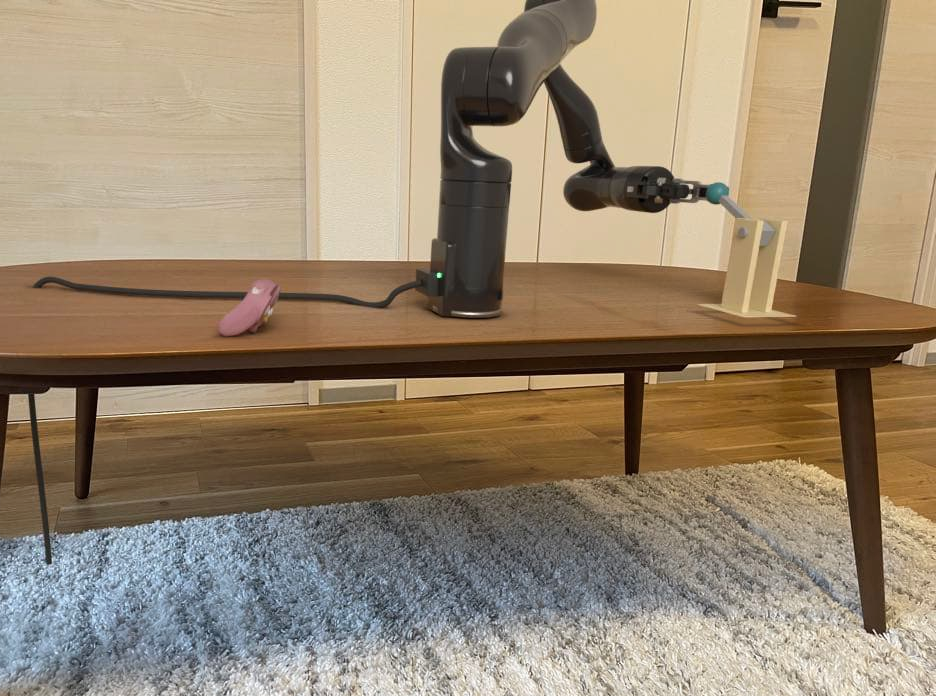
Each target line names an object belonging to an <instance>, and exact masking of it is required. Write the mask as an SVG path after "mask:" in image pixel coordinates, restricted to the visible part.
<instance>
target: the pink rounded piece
mask: <svg viewBox="0 0 936 696" xmlns="http://www.w3.org/2000/svg"><path fill="white" fill-rule="evenodd" d="M281 291H282V288H281V286H279V284H278V283H276V282H274V281H272V280H271V279H265V278H262V279H257V280H255V281H252V282H251V284H250V285H249V287H248V290H247V292H248V293H247V295H246V296H245V298H242V300H241V301H240V302H239V303H238V304H237V305H236V306H235V307H234V308H232V309H231V310H229V311H228V312H227V313H225V314H224V316H222V318H221V319H220V321H219V322H218V326H217V331H218V332H219V334H220V335H221V336H223V337H233V336H238V335H239V334H243V333H244V332H246V331H247V330H248V331H249V332H251V333H253V334H255V333H256V332H257V330H258V328H261V327H262V325H263V324H266V323H267V322H268V320H269V317H271V316H272V315H273V312H274V308H273V307H275V305H276V303H277V301H278V300H279V299H278V296H279V293H281Z"/></svg>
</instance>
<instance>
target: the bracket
mask: <svg viewBox="0 0 936 696" xmlns="http://www.w3.org/2000/svg"><path fill="white" fill-rule="evenodd" d="M763 220H764V221H765V222H766V223H767V224H769V225H770V226H771V227H772V228H773V229H774V230H775V233H774V234H773V236H772V238H771V240H770V241H769V243H768V245H767V246H759V245H760V239H761V234H762V228H763V223H764V221H763ZM788 223H789V222H788V220H780V219H770V218H759V219H753V218H752V219H744V218H735V221H734V227H733V232H732V238H731V243H730V244H731V245H730V250H729V257H728V263H727V269H726V274H725V279H724V286H723V292H722V297H721V298H722V299H721V303H697V304H696V305H697V306H702V307H705V308H708V309H712V310H716V311H719V312H723V313H726V314H730V315H734V316H737V317H741V318H775V317H776V318H783V317H789V318H791V317H796V315H795V314H790V313H787V312H782V311H778V310H774V309H772V308H773V303H774V297H775V293H776V288H777V287H776V286H777V282H778V276H779V272H780V266H781V260H782V255H783V249H784V245H785V239H786V233H787V228H788Z"/></svg>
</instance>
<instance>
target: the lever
mask: <svg viewBox="0 0 936 696" xmlns="http://www.w3.org/2000/svg"><path fill="white" fill-rule="evenodd" d="M710 184H711V185H710ZM710 184H709V185H710V186H709V187H708V189H707V191H706V199H707V200H708V203H709V204H711V205H713V206H714V205H715V206H718V205H721V206H722V207H723V208H724V209H726V210H727V212H728V213H730V214H731V215H732V216H733V217H734V218H735V219H736V218H744V219H753V218H752V217H751V216H750V215H749V214H748V213H746V212H745V211H744V210H743V208H741V207H740V206H739V205H738V203H736V202H735V201H734V200H733V199H731V198H730V188H729V189H728V187H729V186H728V185H727V184H725V183H723V182H720V181H719V182H718V181H717V182H714V183H713V182H712V183H710ZM763 221H764V220H763ZM774 233H775V230H774V229H773V228H772V227H771V226H770V225H769V224H767V223H766V222H765V221H764V223H763V228H762V234H761V239H760V245H759V246H767V245H768V243H769V241H770V240H771V238H772V236H773V234H774Z"/></svg>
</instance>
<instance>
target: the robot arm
mask: <svg viewBox="0 0 936 696" xmlns="http://www.w3.org/2000/svg"><path fill="white" fill-rule="evenodd" d="M523 7H524V9H523V12H522V13H520V14H519V15H517V16H516V17H515V18H514V19H513V20H512V21H510V22H509V23H508V24H507V25H506V26H505V27H504V29H503V30H502V32H501V33H500V36H499V38H498V41H497V43H496V46H468V47H467V46H466V47H465V46H464V47H456V48H453V49H451V50H450V51H449V52H448V54H447V55H446V57H445V60H444V63H443V67H442V72H441V79H440V80H441V81H440V141H439V158H440V180H439V197H438V198H439V199H438V214H437V232H436V237H435V238H434V237H433V238H432V240H431V245H430V246H431V248H430V264H429V268H416V269H415V280H414V281H411V282H410V281H409V282H408V283H404V284H402V285H399V286H397V287H396V288H395V289H393V290H392V291H391V292H390V293H389V294H388V296H387V297H386V299H384V300H381V301H376V302H375V301H374V302H373V301H365V300H361V299H358V298H354V297H350V296H347V295H342V294H330V293H312V292H311V293H310V292H309V293H307V292H280V293H279V296H278V299H277V300H313V301H316V300H317V301H334V302H342V303H347V304H351V305H354V306H360V307H366V308H375V309H382V308H385V307H388V306H390V305H391V304H392V302H394V300H395V298H396V297H397V296H398V295H400V294H402V293H403V292H404V293H405V292H406V291H409V290H412V289H414V290H415V291H416V292H418V293H420V294H422V295H424V296H426V297H428V300H427V301H428V302H427V309H428V310H430V311H432V312H434V313H436V314H437V315H439V316H441V317H452V318H453V317H454V318H461V319H463V318H464V319H465V318H466V319H489V318H496V317H498V316H501V315H502V303H503V301H504V293H503V291H504V276H505V265H506V264H505V262H506V253H507V252H506V250H507V240H508V239H507V237H508V226H509V213H510V205H511V204H510V203H511V191H512V190H511V189H512V177H513V164H512V162H511V160H510V159H508V158H506V157H504V156H502V155H499V154H497V153H494V152H493V151H490V150H488V148H487V149H486V148H485V147H484V146H482V145H481V144H480V143H479V142H478V141H477V140H476V139H475V136H474V133H473V132H474V130H473V127H508V126H513V125H515V124H518V123H519V122H520V121H521V120H522V119H523V118H524V117H525V115H526V114H527V112H528V111H529V109H530V107H531V106H532V103H533V101H534V99H535V97H536V95H537V94H538V92H539V90H540V88H541V87H542V86H543V85H544V88H545V90H546V93H547V95H548V97H549V100H550V102H551V105H552V108H553V111H554V114H555V118H556V121H557V125H558V128H559V135H560V138H561V139H560V140H561V143H562V148H563V152H564V155H565V158H566V160H567V161H568V162H569V163H572V164H585V163H589V165H587V166H585V167H584V168H582V169H580V170H578V171H576V172H574V173H573V174H571V175H570V176H568V178H567V179H566V180H565V182H564V184H563V188H562V190H563V191H562V193H563V197H564V200H565V202H566V203H567V205H568V206H570V207H571V208H572V209H574V210H576V211H578V212H579V211H580V212H593V211H597V210H602V209H606V208H618V209H623V210H626V211H631V212H639V213H647V214H657V213H661V212H662V211H664V210H666V209H667V208H668V207H669V206H670V205H671V204H680V203H684V204H685V203H686V204H697V203H698V202H699V201H706V202H708V200H707V199H706V191H707V189H708V187H709V186H710V185H711V184H712V183H709V184H702V182H701V181H699V180H684V179H683V178H675V176H674V175H673V173H672V172H671V170H669V169H668V168H666V167H664V166H661V165H632V166H616V164H615V163H614V162H613V160H612V158H611V155H610V154H609V151H608V150H607V148H606V145H605V143H604V140H603V136H602V131H601V130H602V129H601V125H600V120H599V119H600V118H599V115H598V112H597V109H596V106H595V104H594V102H593V100H592V99H591V98H590V97H589V95H588V94H587V93H586V92H585V91H584V90H583V89H582V88H581V87H580V86H579V85H578V84H577V83H576V82H575V81H574V80H573V79H572V77H571V76H570V75H569V74H568V73H567V71H566V70H565V69H564V67H563V66H562V64H561V63H562V62H563V60H564V59H566V58H567V57H568V56H569V54H570V53H571V52H572V51H574V49H575V48H576V47H578V46H580V45H581V44H582V43H583V44H584V43H585V42H587V41H588V40H589V39H590V38H591V36H592V35H593V33H594V30H595V27H596V23H597V16H598V12H597V11H598V8H597V1H596V0H525V3H524V6H523ZM689 185H692V188H690V186H689ZM727 187H728V189H729V190H730V187H729V186H727ZM689 195H691V198H689V199H688V197H689ZM708 203H709V202H708ZM46 284H56V285H59V286H63V287H66V288H69V289H72V290H77V291H86V292H87V291H88V292H98V293H105V294H106V293H107V294H116V295H117V294H118V295H119V294H120V295H132V296H149V297H174V298H205V299H207V298H210V299H212V298H213V299H215V298H216V299H244V298H245V296H246V295H247V293H248V291H214V290H213V291H211V290H210V291H207V290H205V291H203V290H174V289H173V290H172V289H171V290H170V289H150V288H149V289H147V288H132V287H129V288H128V287H116V286H106V285H98V284H97V285H95V284H87V283H75V282H73V281H69V280H67V279H63V278H60V277H55V276H44V277H42V278H40V279H39V280H37V281H36V282H35V283H34V284H33V286H32V289H41V287H43V286H44V285H46ZM27 398H28V409H29V422H30V429H31V430H30V431H31V438H32V448H33V456H34V464H35V473H36V478H37V479H36V482H37V488H38V489H37V490H38V497H39V504H40V515H41V524H42V532H43V542H44V555H45V564H46V565H47V566H51V565H52V564H53V559H52V558H53V557H52V556H53V555H52V546H51V536H50V535H51V533H50V526H49V516H48V506H47V505H48V504H47V497H46V490H45V480H44V473H43V472H44V471H43V465H42V455H41V447H40V446H41V445H40V440H39V439H40V438H39V428H38V419H37V418H38V417H37V409H36V397H35V393H34V394H28V393H27Z"/></svg>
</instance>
